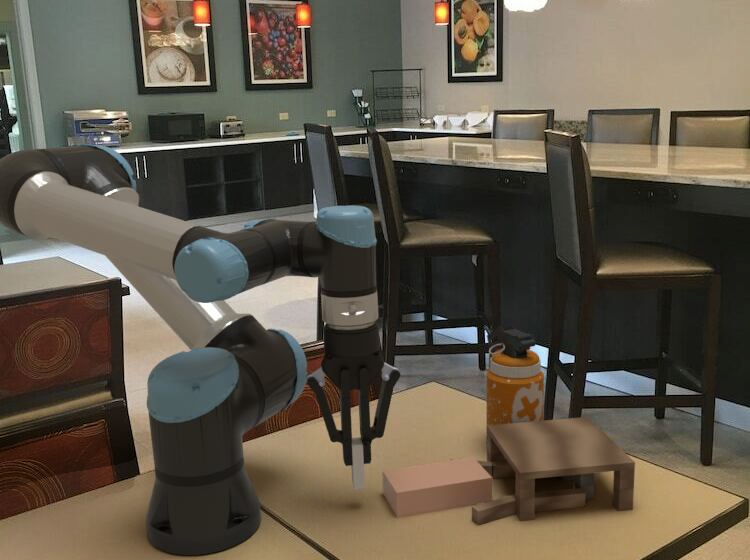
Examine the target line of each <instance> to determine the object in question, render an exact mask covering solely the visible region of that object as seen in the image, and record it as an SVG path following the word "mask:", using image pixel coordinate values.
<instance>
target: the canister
mask: <svg viewBox="0 0 750 560" xmlns="http://www.w3.org/2000/svg"><path fill="white" fill-rule="evenodd" d="M486 336H487V337H486V338H487V344H488V349H489V350H488V353H489V356H488V357H489V361H488V362H489V363H488V365H489V366H488V367H489V369H488V370H487V371H486V426H487V425H499V424H510V423H522V422H534V421H544V401H545V400H544V399H545V398H544V395H545V394H544V393H545V392H544V391H545V374H544V372H543V371H542V370H541V367H542V366H541V365H542V364H541V363H542V361H541V358H540V356H539V354H538V353H537V352H535V351H533V350H531V348H532V347H535V346H536V344H537V342H536V341H535V339H533V337H532V336H533V335H532V334H530V333H525V332H523V331H521V330H518V329H516V328H515V327H514V325H513V324H510V325H509V326H507V327H506V328H504V329H503V327H501V326H499V327H498V328H497V327H496V329H494V330H493V331H492V332H490V333H488V334H487V335H486ZM496 337H497V338H498V341H496V342H493V341H492V340H494V339H495V338H496ZM485 437H486V443H485V444H486V445H487V435H486V436H485Z"/></svg>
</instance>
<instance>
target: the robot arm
mask: <svg viewBox="0 0 750 560" xmlns="http://www.w3.org/2000/svg"><path fill="white" fill-rule="evenodd" d="M133 176H134V172H133V169H132V167H131V165H130V163H129V162H128V160H127V159H125V158H124V156H122V154H121V153H119V152H118V151H116V150H115V149H113V148H110V147H109V146H105V145H100V144H91V143H89V144H87V143H79V144H76V145H75V144H74V145H72V146H61V147H50V148H49V147H48V148H47V147H46V148H34V149H22V150H21V149H20V150H17V151H14V152H11V153H8V154H6V155H5V156H3V157H1V158H0V225H2V226H3V227H4V228H6V229H8V230H10V231H11V232H15V233H17V234H18V235H21V236H25V237H28V238H31V239H34V240H44V239H45V240H46V239H48V238H54V239H56V240H60V241H62V242H66V243H68V244H71V245H74V246H77V247H79V248H82V249H85V250H88V251H91V252H93V253H97V254H100V255H103V256H105V257H106V258H107V260H109V262H110V263H111V264H112V265H113V266H114V267H115V269H116V270H117V271H118V272H119V273H120V274H121V275H122V276H123V278H124V279H126V280H127V281H128V282H129V284H130V285H131V286H132V287H133V288H134V290H136V291H137V293H139V295H140V296H141V297H142V298H143V299H144V300H145V301H146V302H147V304H148V305H150V307H151V308H152V309H153V310H154V311H155V313H157V315H158V316H159V317H160V318H161V319H162V320H163V321H164V322H165V323H166V324H167V326H169V328H170V329H171V330H172V331H173V333H175V335H177V337H178V338H179V339H180V340H181V341H182V342H183V343H184V344H185V346H186V347H187V348H188V349H189V351H184V350H183V351H179V352H177V353H175V354H174V353H173V354H172V355H169V356H168V357H166V358H164V359H162V360H161V361H160V362H158V363H157V364H156V365H155V366H154V367H153V368H152V370H151V371H150V372H149V375H148V378H147V385H146V386H147V397H146V407H147V411H148V417H149V429H150V437H151V439H150V440H151V445H152V448H151V449H152V455H153V464H154V465H153V466H154V474H155V476H154V477H155V479H154V482H153V483H154V484H153V488H152V492H151V496H150V500H149V504H148V507H147V513H146V516H145V517H146V518H145V519H146V520H145V525H146V534H147V539H148V541H149V542H150V543H151V545H152V546H154V547H155V548H157V549H158V550H161V551H163V552H166V553H170V554H174V555H180V556H181V555H182V556H198V555H207V554H212V553H217V552H221V551H224V550H227V549H230V548H232V547H236V546H237V545H239V544H241V543H242V542H244V541H246V540H247V539H249V538H250V537H251V536H252V535H253V534H254V533H256V531H257V530H258V528H259V526H260V525H261V522H262V513H261V502H260V499H259V497H258V495H257V492H256V490H255V488H254V485H253V483H252V482H251V479H250V476H249V474H248V471H247V469H246V468H245V458H244V445H243V444H244V443H243V437H244V434H246V433H247V432H249V431H251V430H252V429H254V428H255V427H257V426H259V425H260V424H262V423H263V422H265V421H267V420H268V419H270V418H271V417H273V416H274V415H276V414H279V413H281V412H283V411H285V410H286V409H287V408H288V407H289V406H290V405H291V404H292V403H294V402H295V401H296V400H297V399H298V398H299V397H301V395H302V393H303V391H304V389H305V387H306V384H307V385H308V387H309V388H310V390H311V391H312V392H313V393H314V394H315V396H316V399H317V403H318V406H319V410H320V412H321V416H322V418H323V422H324V425H325V428H326V431H327V434H328V436H329V440H330V442H332V443H340V444H341V446H342V459H343V464H344V465H345V467H346V466H347V467H349V466H351V482H352V486H353V490H354V491H355V490H356V491H357V490H365V489H366V484H365V482H366V481H365V480H366V479H365V465H369V464H371V462H372V443H373V440H375V439H381V438H383V437H384V434H385V430H386V426H387V425H386V424H387V419H388V416H389V411H390V406H391V402H392V397H393V392H394V388H395V386H396V385H397V383H398V381H399V379H400V378H401V372H400V370H399V369H398V367H397V366H396V365H390V364H388V363H387V362H385V360H384V357H383V356H382V354H381V348H380V347H381V345H380V324H378V322H377V320H378V318H379V303H378V301H379V300H378V299H379V298H378V286H377V285H378V284H377V252H376V251H377V247H376V246H377V243H378V240H377V238H376V229H375V218H374V214H373V212H372V211H371V209H370V208H368V207H366V206H362V205H353V204H352V205H351V204H350V205H334V206H327V207H323V208H320V209H319V210H318V212H317V213H316V220H315V221H306V220H305V221H303V220H286V219H285V220H282V219H281V220H280V219H275V218H267V219H253V220H250V221H248V222H246V224H244V226H243V228H241V229H240V230H236V231H233V232H222V231H219V230H215V229H211V228H208V227H206V226H205V227H204V226H203V225H202V226H201V225H199V224H196V223H193V222H190V221H186V220H183V219H179V218H177V217H173V216H170V215H168V214H164V213H161V212H157V211H154V210H151V209H148V208H144V207H141V206H139V205H140V204H139V203H140V195H139V193H138V192H137V181H136V180H135V179H134V178H133ZM285 277H305V278H314V279H315V278H319V283H320V297H321V300H320V301H321V302H320V303H321V317H322V318H321V320H322V322H324V323H325V324H324V326H323V327H322V336H323V353H324V355H323V358H322V360H321V363H320V367H318V369H316V370H315V371H314V372H308V370H307V367H308V361H307V359H306V358H307V357H306V354H305V352H304V350H303V347H302V346H301V345H300V342H298V340H297V339H296V338H295V337H294V336H293V335H292V334H290V333H289V332H288V331H285V330H282V329H275V328H268V329H266V328H265V327H264V326H263V325H262V324H261V323H260V321H259V320H257V319H256V317H254V315H253V314H251V313H238V312H236V311H235V310H234V309H233V308H232V307H231V306H230V305H229V303H228V302H226V300H229V299H231V298H233V297H235V296H237V295H239V294H242V293H244V292H246V291H247V292H248V291H249V290H251V289H254V288H257V287H259V286H262V285H266V284H268V283H271V282H273V281H276V280H279V279H282V278H285ZM380 373H381V375H380V376H381V378H382V381H381V386H380V390H379V395H378V400H377V404H376V409H375V413H374V420H373V423H372V424H373V425H372V426H371V412H370V387H371V386H372V384H373V383H374V381H376V379H377V378H378V375H379V374H380ZM325 376H326V377H327V378H328V379H329V380H330V381H331V383H332V384H333V385H334V386H335V387H336V388H337V389H338V390H339V391H338V392H339V409H340V426H341V428H340V429H341V430H340V429H338V428H337V425H336V423H335V419H334V415H333V413H332V411H331V406H330V404H329V401H328V397H327V394H326V391H325V388H324V386H325V385H326V380H325ZM354 390H357V393H358V394H357V397H358V415H359V417H358V418H359V435H360V436H359V437H358V436H357V437H353V432H352V431H353V430H352V410H351V409H352V407H351V391H354Z"/></svg>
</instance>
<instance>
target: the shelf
mask: <svg viewBox="0 0 750 560" xmlns="http://www.w3.org/2000/svg"><path fill="white" fill-rule="evenodd" d="M486 436H487V444H486V461H485V460H476V461H477V462H478V463H479V464H480V465H481V466H482V467H483V468H484V469H485V470H486V471H487V473H488V474H489V475H490V476H491V477H492V479H501V478H510V477H511V478H512V477H514V478H515V493H514V494H512V495H510V494H509V495H506V496H503V497H500V498H496V499H492V501H489V502H486V503H480V504H474V505H471V521H472V522H473V523H475V524H476V525H477V526H479V525H484V524H487V523H489V522H492V521H496V520H499V519H502V518H506V517H508V516H512V515H516V517H517V519H518V520H519V521H520V522H523V521H533V520H535V513H536V512H542V511H543V512H544V511H545V512H546V511H553V510H564V509H574V508H583V507H586V500H594V498H595V495H594V494H595V474H597V473H607V472H613V484H612V489H613V490H612V505H613V506H614V507H615V509H616V510H618V511H619V512H620V511H621V512H622V511H631V510H633V508H634V493H635V492H634V490H635V470H636V467H635V466H636V462H635V460H633V459H632V458H631V456H629V455H628V454H627V453H626V452H625V451H624V450H623V449H622V448H621V447H619V445H618V444H616V443H615V442H614V441H613V439H612V438H611V437H609V436H608V435H607V434H606V433H605V432H604V431H603V430H602V429H601V428H600V427H599V426H598V425H597V424H595V422H593V420H592V419H590V418H589V417H588V416H581V417H571V418H559V419H557V418H556V419H548V420H543V421H534V422H522V423H510V424H499V425H487V424H486ZM450 460H453V459H451V458H450V459H449V461H450ZM555 477H561V479H562V480H563V481H572V480H573V488H570V489H557V490H549V491H539V492H535V491H536V490H535V487H536V479H543V478H555Z"/></svg>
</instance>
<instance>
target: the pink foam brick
mask: <svg viewBox="0 0 750 560" xmlns="http://www.w3.org/2000/svg"><path fill="white" fill-rule="evenodd" d="M477 461H478V460H477V459H475V458H474V456H471V457H465V458H464V457H463V458H458V459H452V460H450V459H449V460H445V461H438V462H437V461H436V462H432V463H425V464H419V465H418V464H417V465H412V466H411V465H410V466H404V467H397V468H392V469H385V470H382V495H383V496H384V498H385V500H386V502H387V503H388V505H389V506H390V508H391V509H392V512H393V513H394V514H395V516H396V518H403V517H404V518H405V517H410V516H415V515H420V514H427V513H432V512H440V511H444V510H450V509H455V508H457V509H458V508H462V507H467V506H475V505H479V504H482V503H486V502H489V501H492V500H493V477H491V476H490V475H489V474H488V473H487V471H486V470H485V469H484V468H483V467H482V466H481V465H480V464H479V463H478V462H477Z"/></svg>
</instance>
